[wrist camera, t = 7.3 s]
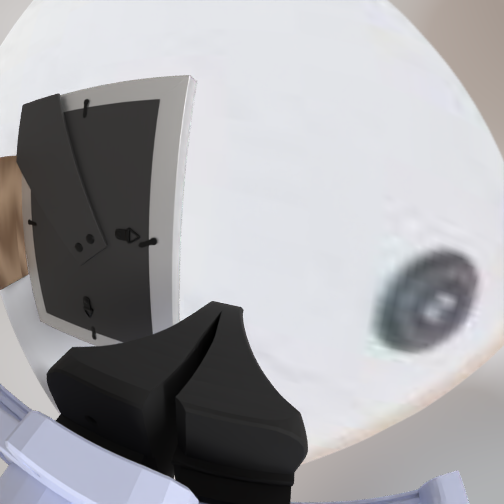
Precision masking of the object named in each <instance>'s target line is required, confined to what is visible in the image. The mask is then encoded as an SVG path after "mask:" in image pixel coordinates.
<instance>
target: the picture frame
mask: <svg viewBox="0 0 504 504" xmlns="http://www.w3.org/2000/svg"><path fill="white" fill-rule="evenodd" d="M196 86H197V81H196V80H195V79H194V78H193V77H192V76H191V75H183V76H167V77H156V78H146V79H138V80H131V81H124V82H118V83H112V84H106V85H101V86H96V87H92V88H87V89H83V90H79V91H75V92H71V93H67V94H63V95H60V94H55V95H51V96H48V97H45V98H42V99H38V100H35V101H32V102H30V103H27V104H24V105H23V106H22V112H21V119H20V126H19V135H18V145H17V158H16V162H17V164H18V166H19V169H20V171H21V172H22V215H23V228H24V239H25V247H26V255H27V262H28V268H29V274H30V279H31V284H32V289H33V293H34V298H35V302H36V306H37V310H38V314H39V318H40V321H41V322H43V323H45V324H47V325H49V326H51V327H53V328H55V329H58V330H60V331H62V332H64V333H66V334H69V335H71V336H73V337H76V338H78V339H80V340H83V341H85V342H88V343H90V344H93V345H95V346H105V345H112V344H118V343H124V342H128V341H132V340H136V339H139V338H143V337H146V336H149V335H152V334H155V333H157V332H160V331H162V330H165V329H167V328H169V327H171V326H173V325H175V324H177V323H178V322H180V313H179V290H180V247H181V226H182V209H183V195H184V183H185V172H186V161H187V152H188V143H189V134H190V127H191V119H192V112H193V105H194V98H195V92H196Z"/></svg>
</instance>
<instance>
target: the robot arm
mask: <svg viewBox="0 0 504 504" xmlns="http://www.w3.org/2000/svg"><path fill="white" fill-rule="evenodd" d="M47 383H48V386H49V389H50V392H51V394H52V396H53V398H54V400H55V403H56V405H57V407H58V409H59V411H60V413H61V415H60V416H59V417H58V418H57V420H56V421H55V420H53V419H52V418H50V417H48V416H46V415H44V414H42V413H41V412H39V411H34V410H31V409H30V408H29V407H27V406H26V405H25V404H23V403H22V402H21V401H20V400H19V399H17V398H16V397H15V396H14V395H12V394H11V393H10V392H9V391H8V390H7V389H5V388H4V387H3V386H2V385H1V384H0V457H1V458H2V459H3V460H4V461H5V462H6V463H7V464H8V465H9V466H8V468H7V469H6V470H5V472H4V473H3V474H2V476H1V477H0V504H470V503H469V500H468V497H467V494H466V491H465V488H464V485H463V482H462V479H461V476H460V473H459V471H457V470H456V471H453V472H450V473H447V474H444V475H440V476H437V477H435V478H433V479H431V480H429V481H427V482H426V483H424V484H423V485H422V486H421V487H420V488H419V489H417V490H413V491H409V492H404V493H400V494H395V495H389V496H383V497H378V498H370V499H362V500H353V501H341V502H309V503H307V502H290V498H291V486H293V484H294V472H295V471H296V469H297V468H298V467H299V466H300V464H301V463H302V462H303V460H304V459H305V457H306V455H307V452H308V443H307V436H306V431H305V427H304V423H303V420H302V416H301V414H300V412H299V411H298V410H296V409H295V408H294V407H293V406H292V405H291V404H290V403H289V402H287V401H286V400H285V399H284V398H283V397H282V396H281V395H280V394H279V393H278V392H277V390H276V389H275V388H274V387H273V385H272V384H271V383H270V381H269V380H268V379H267V377H266V376H265V374H264V373H263V371H262V370H261V368H260V366H259V365H258V363H257V361H256V359H255V357H254V355H253V352H252V350H251V348H250V345H249V342H248V339H247V336H246V332H245V328H244V323H243V309H242V308H241V307H238V306H233V305H228V304H224V303H219V302H215V301H211V302H210V303H208V304H207V305H205V306H204V307H202V308H201V309H199V310H198V311H196V312H195V313H193V314H192V315H190V316H189V317H187V318H185V319H184V320H182V321H180V322H178V323H177V324H175V325H173V326H171V327H169V328H167V329H165V330H162V331H160V332H157V333H155V334H152V335H149V336H146V337H143V338H139V339H136V340H132V341H128V342H124V343H118V344H112V345H105V346H94V347H72V348H71V349H70V350H69V351H68V352H67V353H66V354H65V355H64V356H62V357H61V358H60V359H59V360H58V361H57V362H56V363H55V364H54V365H53V366H52V367H51V368H50V369H49V371H48V372H47ZM174 475H175V480H174Z"/></svg>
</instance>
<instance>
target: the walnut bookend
mask: <svg viewBox="0 0 504 504" xmlns="http://www.w3.org/2000/svg"><path fill="white" fill-rule="evenodd" d="M16 158H17V156H6V157H0V290H1V289H3V288H5V287H7V286H8V285H10V284H12V283H14V282H15V281H17V280H19V279H21V278H23V277H24V276H26V275H28V274H29V273H28V267H27V259H26V251H25V240H24V228H23V215H22V172H21V171H20V169H19V166H18V164H17V162H16Z"/></svg>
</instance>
